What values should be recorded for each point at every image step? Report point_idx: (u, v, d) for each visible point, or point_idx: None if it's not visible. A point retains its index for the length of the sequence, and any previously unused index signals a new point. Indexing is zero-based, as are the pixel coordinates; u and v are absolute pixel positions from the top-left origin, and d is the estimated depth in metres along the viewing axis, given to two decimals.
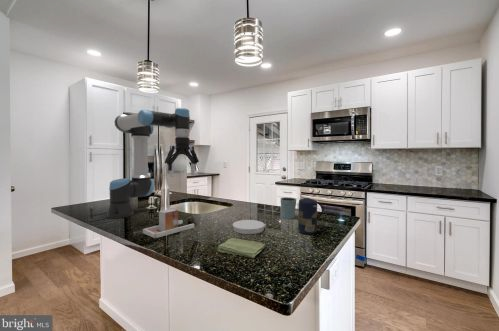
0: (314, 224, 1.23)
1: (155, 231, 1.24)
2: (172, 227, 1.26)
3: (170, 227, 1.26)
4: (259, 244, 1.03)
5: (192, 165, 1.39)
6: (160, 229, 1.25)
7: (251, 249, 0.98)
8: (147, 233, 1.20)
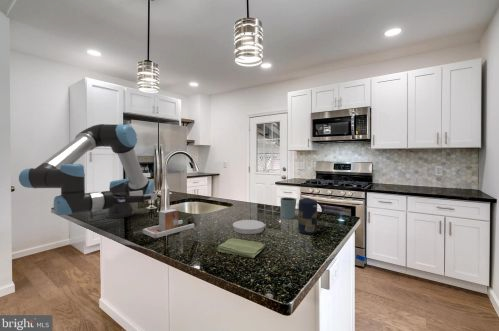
0: (314, 224, 1.23)
1: (155, 231, 1.24)
2: (172, 227, 1.26)
3: (170, 227, 1.26)
4: (259, 244, 1.03)
5: None
6: (160, 229, 1.25)
7: (251, 249, 0.97)
8: (147, 233, 1.20)
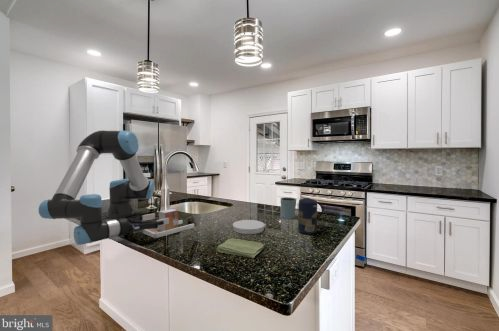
0: (314, 224, 1.23)
1: (155, 231, 1.24)
2: (172, 227, 1.26)
3: (170, 227, 1.26)
4: (258, 244, 1.03)
5: None
6: (160, 229, 1.25)
7: (251, 249, 0.97)
8: (147, 233, 1.20)
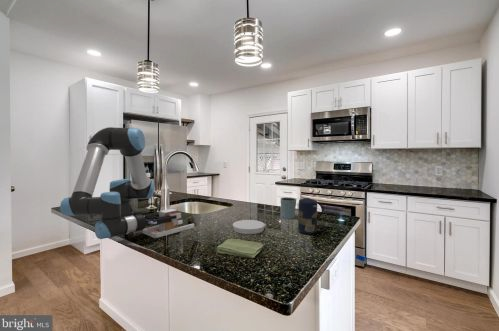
0: (314, 224, 1.23)
1: (155, 231, 1.24)
2: (172, 227, 1.26)
3: (170, 227, 1.26)
4: (258, 244, 1.03)
5: None
6: (160, 229, 1.25)
7: (250, 249, 0.97)
8: (147, 233, 1.20)
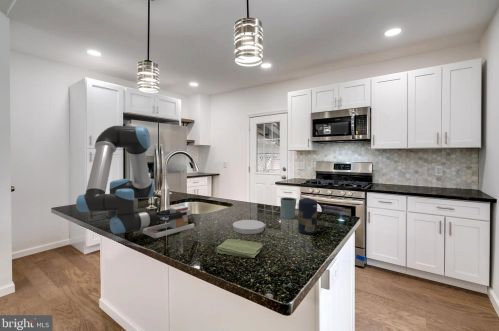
0: (314, 224, 1.23)
1: (155, 231, 1.24)
2: (182, 223, 1.30)
3: (181, 224, 1.29)
4: (257, 244, 1.03)
5: None
6: (171, 225, 1.29)
7: (250, 249, 0.97)
8: (147, 233, 1.20)
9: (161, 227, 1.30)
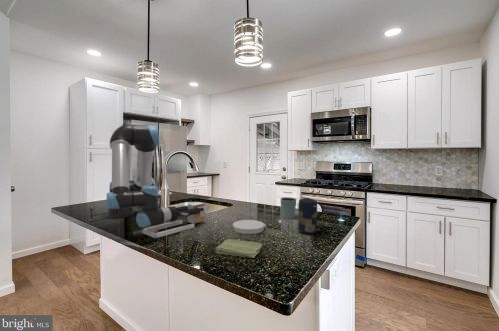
0: (314, 224, 1.23)
1: (155, 231, 1.24)
2: (199, 219, 1.40)
3: (198, 219, 1.39)
4: (257, 244, 1.03)
5: None
6: (189, 220, 1.39)
7: (250, 249, 0.97)
8: (147, 233, 1.20)
9: (161, 227, 1.30)
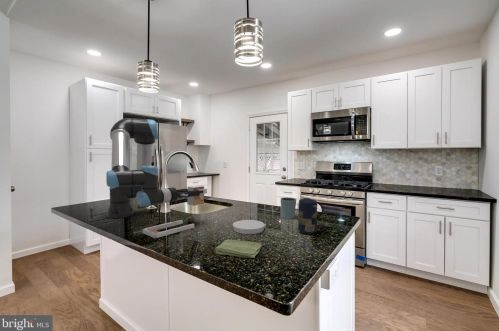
0: (314, 224, 1.23)
1: (155, 231, 1.24)
2: (199, 201, 1.40)
3: (198, 201, 1.39)
4: (256, 244, 1.03)
5: None
6: (188, 202, 1.39)
7: (250, 249, 0.97)
8: (147, 233, 1.20)
9: (161, 227, 1.30)
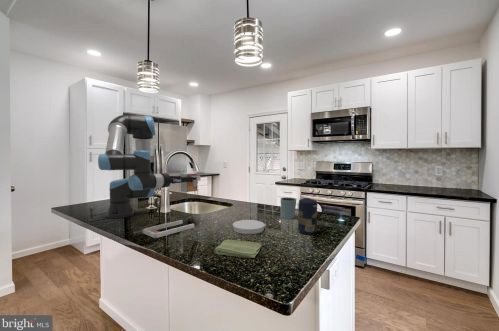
0: (314, 224, 1.23)
1: (155, 231, 1.24)
2: (192, 188, 1.40)
3: (191, 188, 1.39)
4: (256, 244, 1.03)
5: None
6: (182, 189, 1.39)
7: (250, 250, 0.97)
8: (147, 233, 1.20)
9: (161, 227, 1.30)
